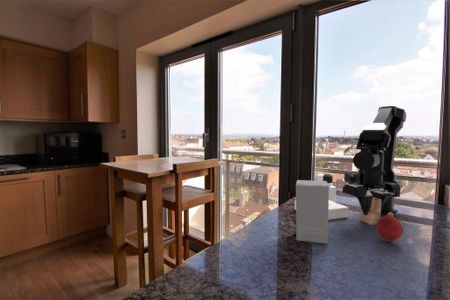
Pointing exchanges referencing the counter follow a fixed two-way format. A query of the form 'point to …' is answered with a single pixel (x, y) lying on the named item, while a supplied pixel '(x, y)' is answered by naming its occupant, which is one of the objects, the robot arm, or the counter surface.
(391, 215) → the onion
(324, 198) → the skincare box
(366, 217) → the peg
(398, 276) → the counter surface
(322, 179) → the medicine bottle
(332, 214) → the socket block
